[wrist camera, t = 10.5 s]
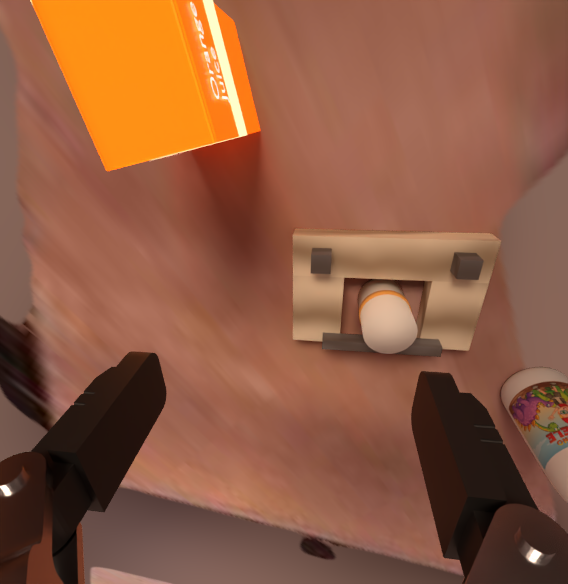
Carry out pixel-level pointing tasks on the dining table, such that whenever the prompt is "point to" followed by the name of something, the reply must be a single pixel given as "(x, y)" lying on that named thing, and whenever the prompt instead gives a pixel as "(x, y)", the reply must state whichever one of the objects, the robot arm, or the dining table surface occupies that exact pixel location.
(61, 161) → the dining table surface
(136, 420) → the robot arm
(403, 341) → the orange-banded white cylinder
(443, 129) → the dining table surface
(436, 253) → the shelf board
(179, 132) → the orange juice
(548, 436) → the milk bottle
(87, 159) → the dining table surface
